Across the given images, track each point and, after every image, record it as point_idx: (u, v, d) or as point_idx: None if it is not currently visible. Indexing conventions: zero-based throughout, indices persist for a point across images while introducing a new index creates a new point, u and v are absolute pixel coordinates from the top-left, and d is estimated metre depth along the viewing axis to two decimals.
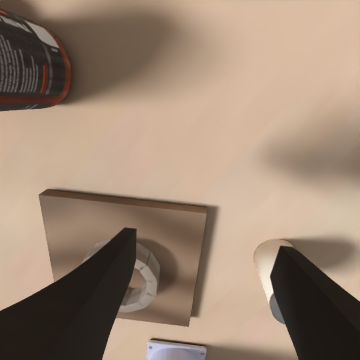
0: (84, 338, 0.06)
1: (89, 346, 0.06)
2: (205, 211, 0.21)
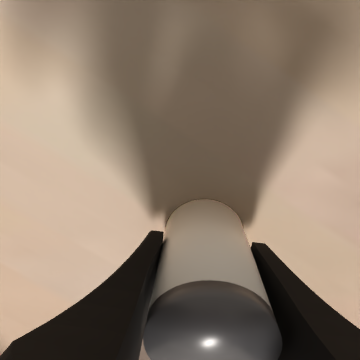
0: (131, 344, 0.06)
1: (133, 352, 0.06)
2: None
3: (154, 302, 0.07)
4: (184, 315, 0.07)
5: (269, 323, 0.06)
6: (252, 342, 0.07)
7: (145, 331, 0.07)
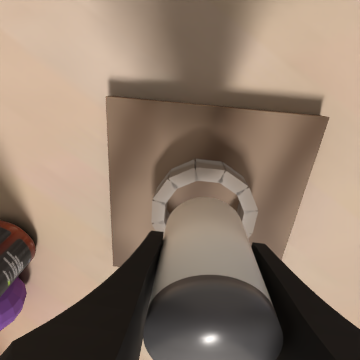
0: (132, 344, 0.06)
1: (133, 352, 0.06)
2: (107, 98, 0.16)
3: (154, 298, 0.07)
4: (183, 310, 0.07)
5: (269, 317, 0.06)
6: (253, 337, 0.07)
7: (144, 327, 0.07)
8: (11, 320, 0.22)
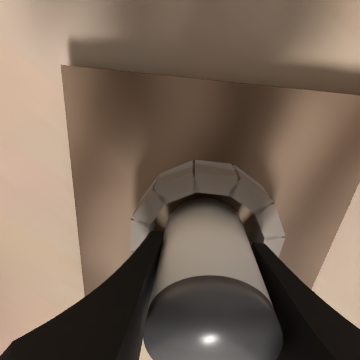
0: (131, 344, 0.06)
1: (133, 352, 0.06)
2: (64, 68, 0.11)
3: (154, 299, 0.07)
4: (184, 310, 0.07)
5: (269, 317, 0.06)
6: (253, 337, 0.07)
7: (144, 328, 0.07)
8: None
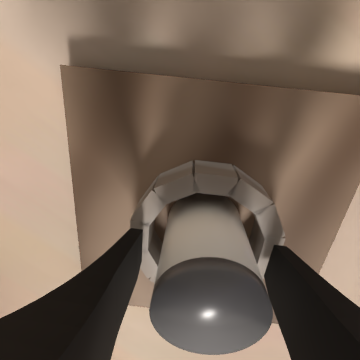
0: (95, 339, 0.06)
1: (99, 347, 0.06)
2: (64, 68, 0.11)
3: (158, 278, 0.08)
4: (185, 287, 0.07)
5: (260, 293, 0.07)
6: (246, 311, 0.08)
7: (150, 304, 0.08)
8: None
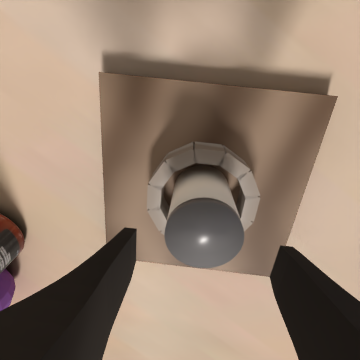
0: (84, 338, 0.06)
1: (89, 346, 0.07)
2: (100, 74, 0.15)
3: (170, 214, 0.12)
4: (188, 215, 0.12)
5: (235, 218, 0.11)
6: (227, 233, 0.12)
7: (165, 228, 0.12)
8: None
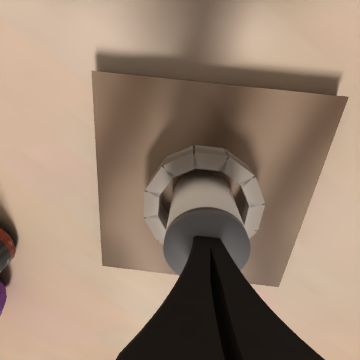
0: None
1: None
2: (93, 73, 0.14)
3: (169, 225, 0.11)
4: (188, 227, 0.11)
5: (240, 230, 0.10)
6: (231, 245, 0.11)
7: (164, 241, 0.11)
8: None
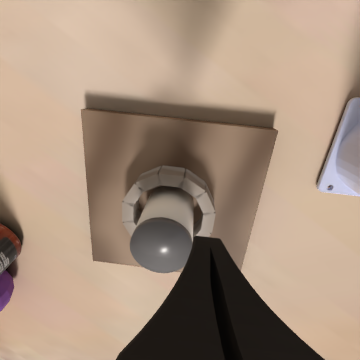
0: None
1: None
2: (83, 110, 0.18)
3: (134, 230, 0.15)
4: (146, 232, 0.15)
5: (183, 234, 0.15)
6: (178, 245, 0.15)
7: (130, 242, 0.15)
8: None
